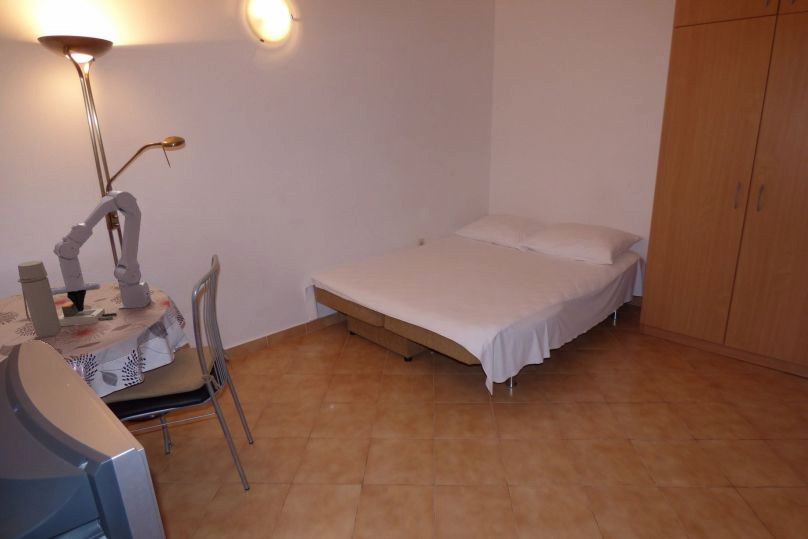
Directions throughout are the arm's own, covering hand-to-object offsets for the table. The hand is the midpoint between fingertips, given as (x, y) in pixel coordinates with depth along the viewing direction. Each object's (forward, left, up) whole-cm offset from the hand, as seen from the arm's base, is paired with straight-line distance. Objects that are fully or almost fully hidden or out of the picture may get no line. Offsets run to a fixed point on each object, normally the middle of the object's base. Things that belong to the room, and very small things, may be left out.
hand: (81, 310), depth 175 cm
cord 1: (-8, +2, -4) cm, 9 cm away
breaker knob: (+3, 0, -1) cm, 4 cm away
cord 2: (-8, -1, -4) cm, 9 cm away
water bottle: (+7, +11, -4) cm, 14 cm away
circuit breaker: (0, +1, -4) cm, 4 cm away
